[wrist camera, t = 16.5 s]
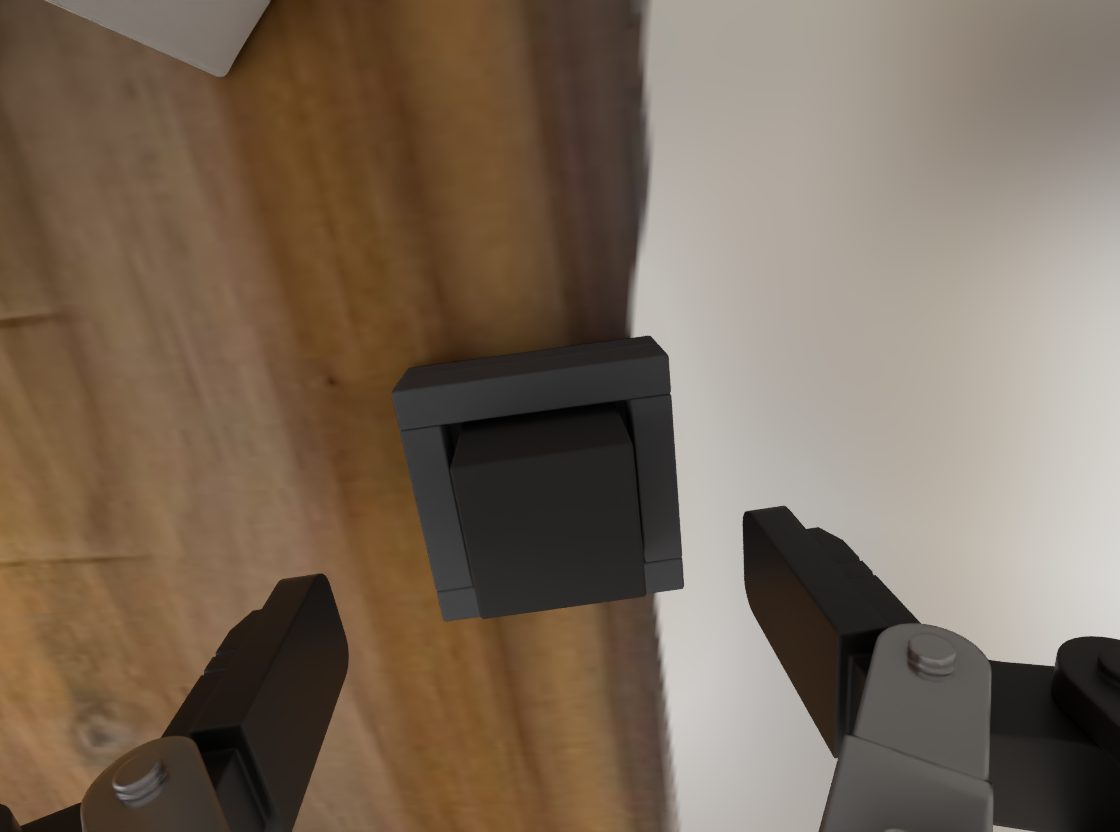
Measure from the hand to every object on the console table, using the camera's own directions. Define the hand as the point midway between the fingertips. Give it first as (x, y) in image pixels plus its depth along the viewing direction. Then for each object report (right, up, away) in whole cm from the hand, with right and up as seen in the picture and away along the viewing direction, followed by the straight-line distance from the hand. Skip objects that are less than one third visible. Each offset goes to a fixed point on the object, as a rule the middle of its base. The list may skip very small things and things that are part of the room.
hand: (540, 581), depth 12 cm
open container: (0, +2, +6) cm, 6 cm away
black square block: (0, +1, +5) cm, 5 cm away
